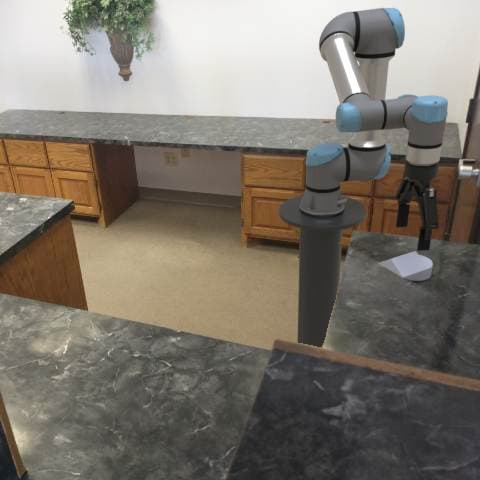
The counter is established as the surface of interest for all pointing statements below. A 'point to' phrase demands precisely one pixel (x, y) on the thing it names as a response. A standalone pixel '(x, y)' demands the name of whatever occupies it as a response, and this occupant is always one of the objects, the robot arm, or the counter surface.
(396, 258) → the wedge on round base
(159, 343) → the counter surface
